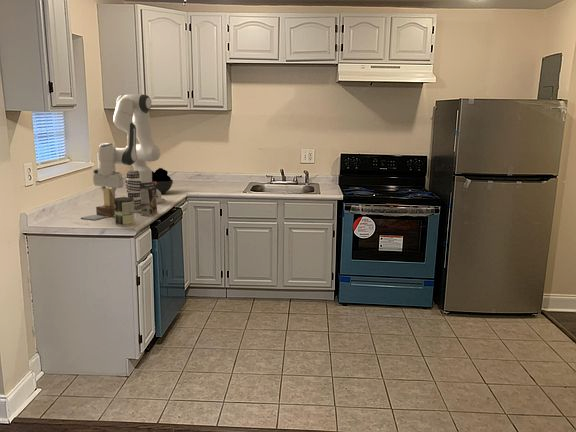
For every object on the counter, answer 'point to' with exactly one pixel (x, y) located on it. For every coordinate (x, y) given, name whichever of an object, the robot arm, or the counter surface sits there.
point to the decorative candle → (134, 188)
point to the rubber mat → (93, 217)
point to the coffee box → (148, 201)
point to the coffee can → (124, 211)
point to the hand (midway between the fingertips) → (109, 194)
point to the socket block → (105, 211)
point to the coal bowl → (161, 180)
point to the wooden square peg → (108, 197)
